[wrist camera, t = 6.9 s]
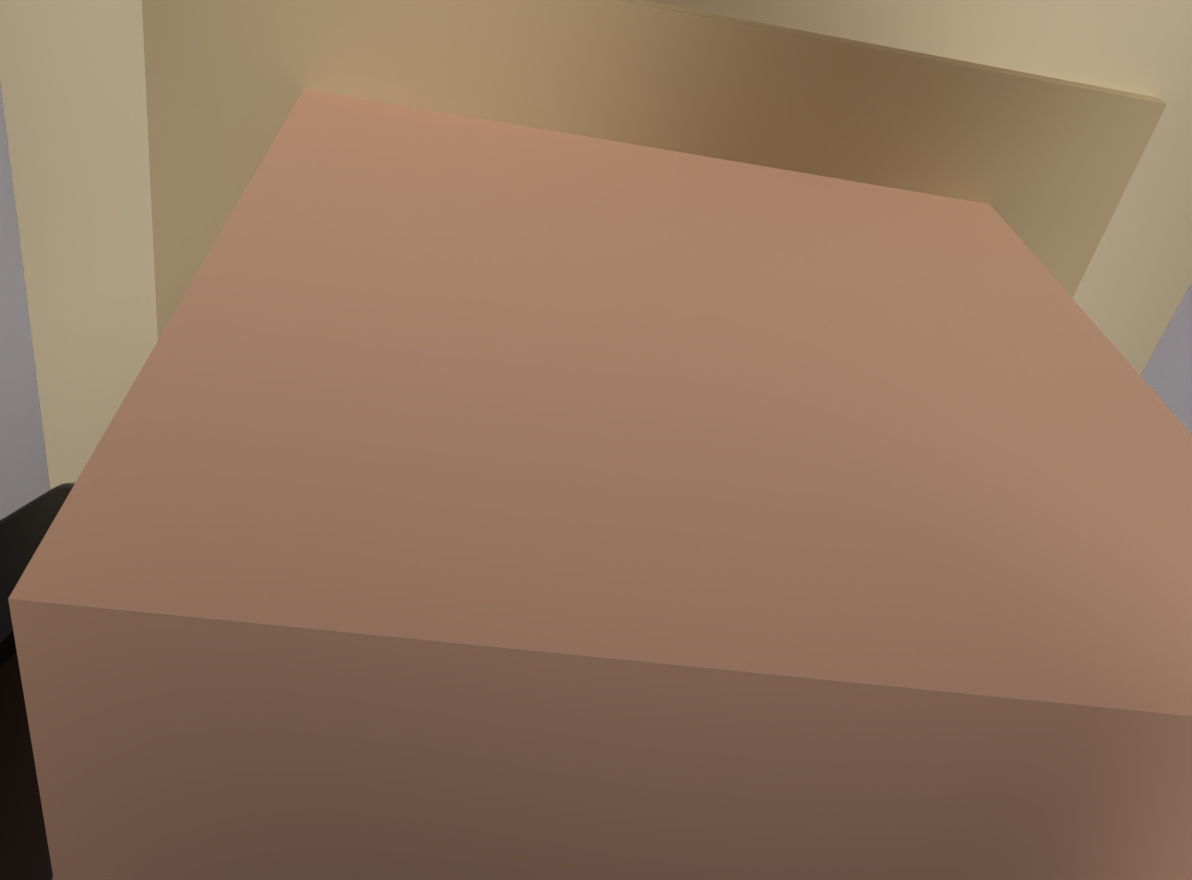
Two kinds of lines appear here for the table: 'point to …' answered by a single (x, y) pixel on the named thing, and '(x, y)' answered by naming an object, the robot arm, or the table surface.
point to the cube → (614, 538)
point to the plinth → (585, 131)
